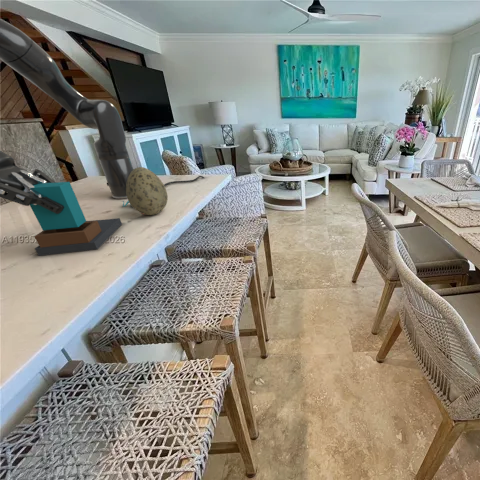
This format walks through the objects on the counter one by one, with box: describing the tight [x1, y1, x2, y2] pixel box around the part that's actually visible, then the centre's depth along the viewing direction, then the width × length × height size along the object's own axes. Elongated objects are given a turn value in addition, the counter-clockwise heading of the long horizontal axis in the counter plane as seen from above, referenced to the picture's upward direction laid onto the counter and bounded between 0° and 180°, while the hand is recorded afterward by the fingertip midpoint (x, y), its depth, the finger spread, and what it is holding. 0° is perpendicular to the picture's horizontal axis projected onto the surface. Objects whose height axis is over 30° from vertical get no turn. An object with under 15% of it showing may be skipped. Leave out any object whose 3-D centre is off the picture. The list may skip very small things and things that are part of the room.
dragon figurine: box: [121, 200, 131, 207], centre depth 92 cm, size 6×7×8 cm
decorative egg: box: [126, 166, 169, 216], centre depth 83 cm, size 11×11×15 cm
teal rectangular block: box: [23, 181, 87, 231], centre depth 61 cm, size 4×7×10 cm, turn 105°
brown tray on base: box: [33, 217, 123, 257], centre depth 69 cm, size 16×12×5 cm
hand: (67, 207), depth 62 cm, fingers closed on teal rectangular block, 4 cm apart
